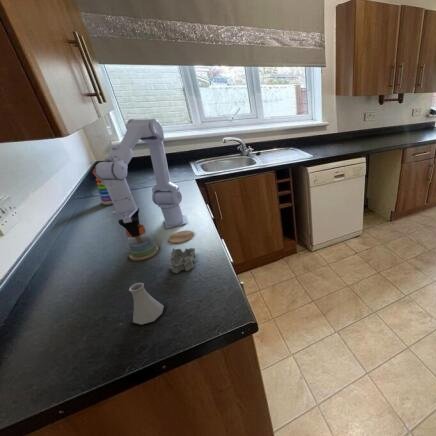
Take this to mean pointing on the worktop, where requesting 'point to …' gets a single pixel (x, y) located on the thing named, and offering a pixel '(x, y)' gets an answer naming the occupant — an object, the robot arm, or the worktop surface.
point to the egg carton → (182, 259)
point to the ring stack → (142, 248)
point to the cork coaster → (181, 236)
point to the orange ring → (141, 230)
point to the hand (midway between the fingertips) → (136, 232)
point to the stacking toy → (103, 192)
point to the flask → (144, 305)
